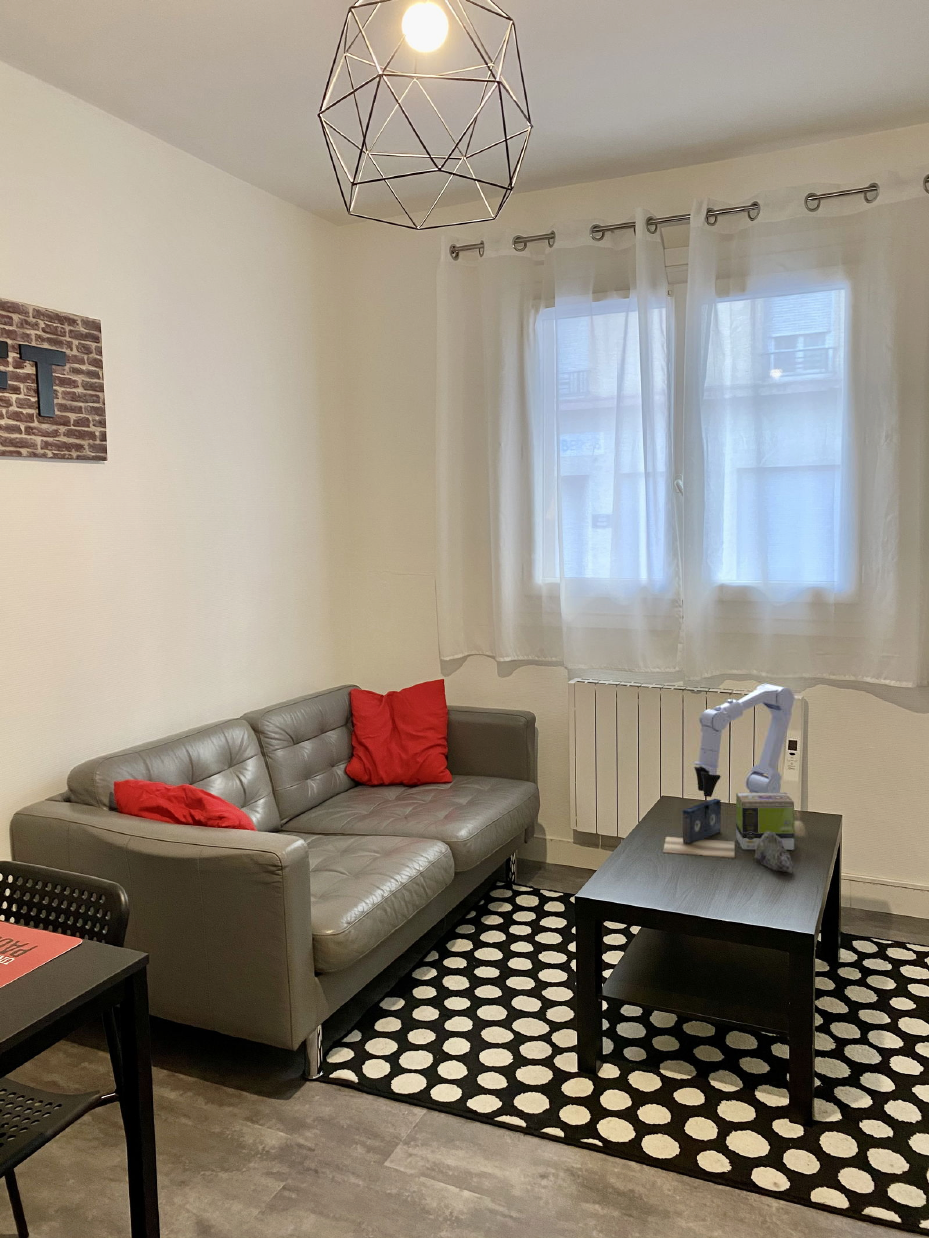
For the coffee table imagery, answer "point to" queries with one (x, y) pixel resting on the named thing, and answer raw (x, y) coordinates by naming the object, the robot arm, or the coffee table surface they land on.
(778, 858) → the mineral rock
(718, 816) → the vhs cassette tape
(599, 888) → the coffee table surface
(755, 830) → the tea box
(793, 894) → the coffee table surface
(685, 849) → the wooden board
